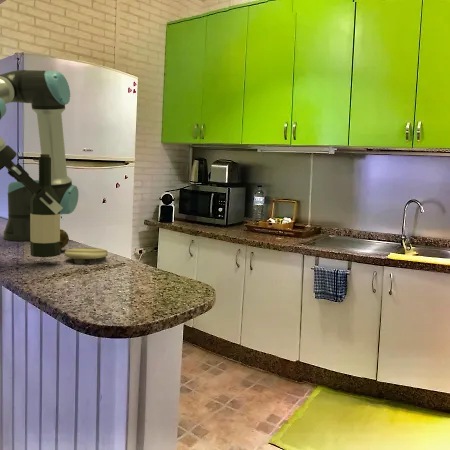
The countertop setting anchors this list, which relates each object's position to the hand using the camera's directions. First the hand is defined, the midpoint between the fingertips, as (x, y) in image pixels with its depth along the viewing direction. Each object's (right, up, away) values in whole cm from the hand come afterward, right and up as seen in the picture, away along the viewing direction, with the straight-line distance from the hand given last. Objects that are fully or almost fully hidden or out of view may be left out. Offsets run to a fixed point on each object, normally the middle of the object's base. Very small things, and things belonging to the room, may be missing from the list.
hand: (57, 209), depth 138 cm
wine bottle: (-4, -14, 0) cm, 14 cm away
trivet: (+6, -16, +8) cm, 19 cm away
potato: (-9, -14, +23) cm, 28 cm away
